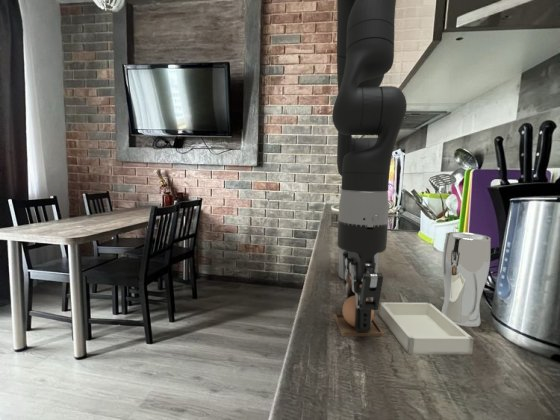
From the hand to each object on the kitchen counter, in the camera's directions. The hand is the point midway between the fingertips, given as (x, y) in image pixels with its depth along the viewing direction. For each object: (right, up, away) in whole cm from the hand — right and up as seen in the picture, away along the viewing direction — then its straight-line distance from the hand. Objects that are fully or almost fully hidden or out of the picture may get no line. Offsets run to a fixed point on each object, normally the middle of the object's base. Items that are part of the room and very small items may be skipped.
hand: (357, 321), depth 51 cm
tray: (+10, -1, -2) cm, 10 cm away
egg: (0, -1, 0) cm, 1 cm away
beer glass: (+19, -1, +4) cm, 19 cm away
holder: (0, -1, 0) cm, 1 cm away
